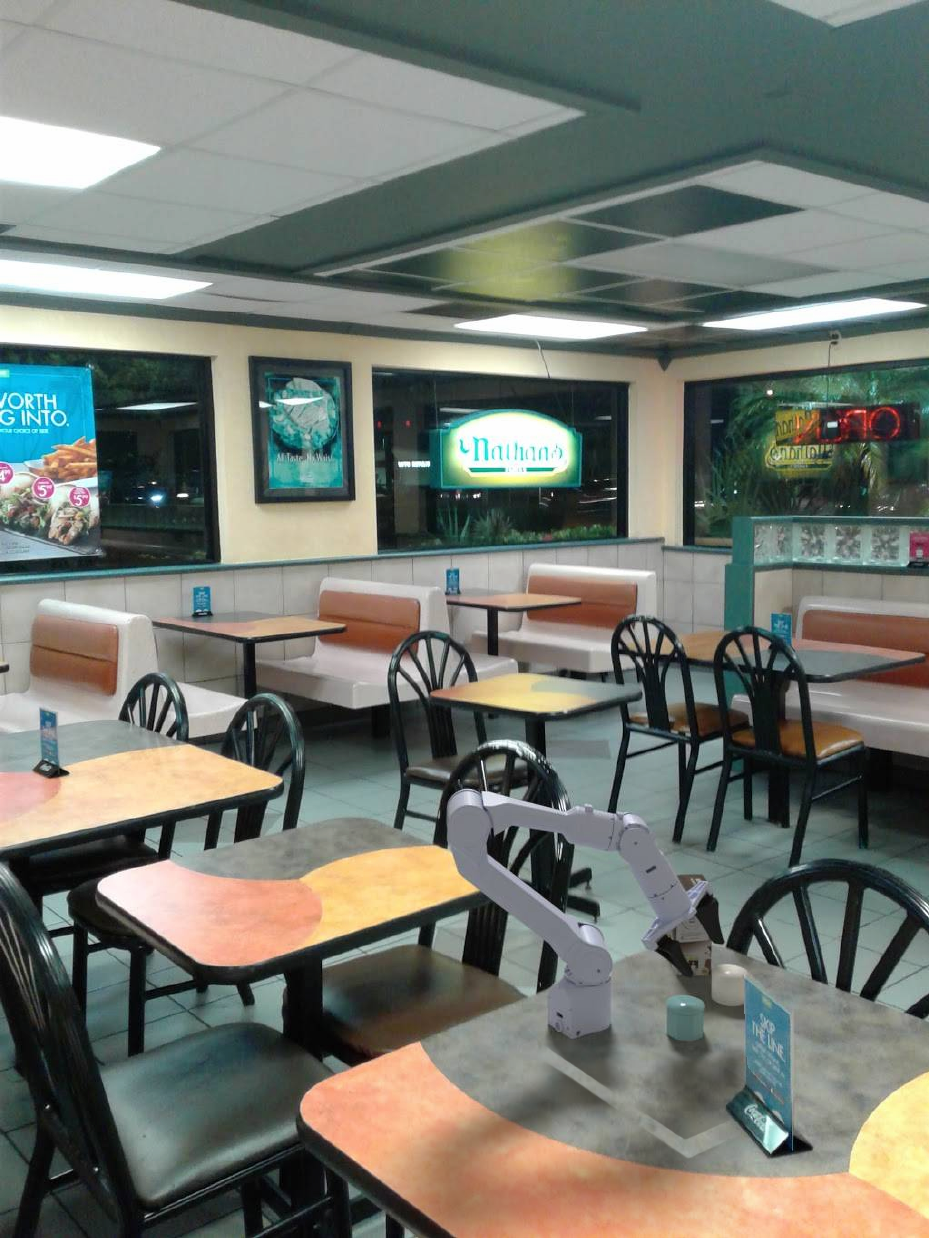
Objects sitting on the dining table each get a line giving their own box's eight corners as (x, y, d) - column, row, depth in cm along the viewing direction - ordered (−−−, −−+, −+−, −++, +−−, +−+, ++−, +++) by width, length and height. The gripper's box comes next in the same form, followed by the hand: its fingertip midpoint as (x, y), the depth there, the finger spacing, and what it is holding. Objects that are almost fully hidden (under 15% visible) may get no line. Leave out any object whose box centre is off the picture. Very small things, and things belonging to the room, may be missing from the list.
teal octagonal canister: (684, 1054, 163) (685, 1015, 163) (657, 1038, 168) (658, 1001, 167) (711, 1043, 166) (712, 1005, 166) (684, 1028, 171) (685, 991, 170)
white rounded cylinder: (729, 1018, 174) (730, 982, 174) (703, 1004, 179) (704, 969, 178) (754, 1008, 178) (755, 973, 177) (727, 995, 182) (728, 961, 181)
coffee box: (712, 983, 187) (714, 892, 185) (674, 983, 187) (676, 891, 185) (702, 960, 196) (703, 873, 194) (665, 960, 196) (667, 873, 194)
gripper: (645, 918, 162) (690, 993, 163) (707, 858, 168) (750, 931, 170) (618, 914, 168) (661, 986, 169) (679, 857, 174) (720, 927, 176)
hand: (704, 958), depth 170 cm, fingers open, 7 cm apart
